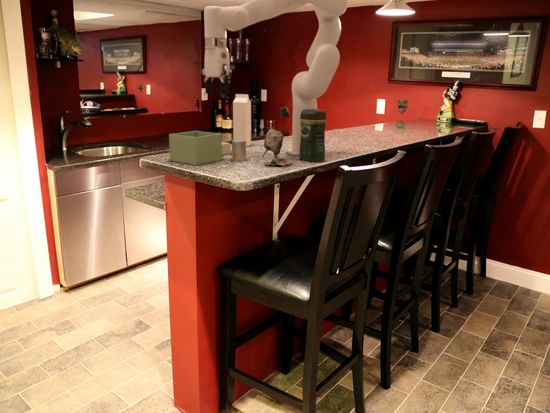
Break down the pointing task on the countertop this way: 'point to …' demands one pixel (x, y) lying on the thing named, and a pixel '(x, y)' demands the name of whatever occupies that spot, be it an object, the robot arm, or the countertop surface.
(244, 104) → the milk
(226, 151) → the beige grey block
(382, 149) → the countertop surface
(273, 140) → the plant with pod
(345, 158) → the countertop surface
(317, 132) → the coffee jar
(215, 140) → the bin
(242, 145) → the empty can
